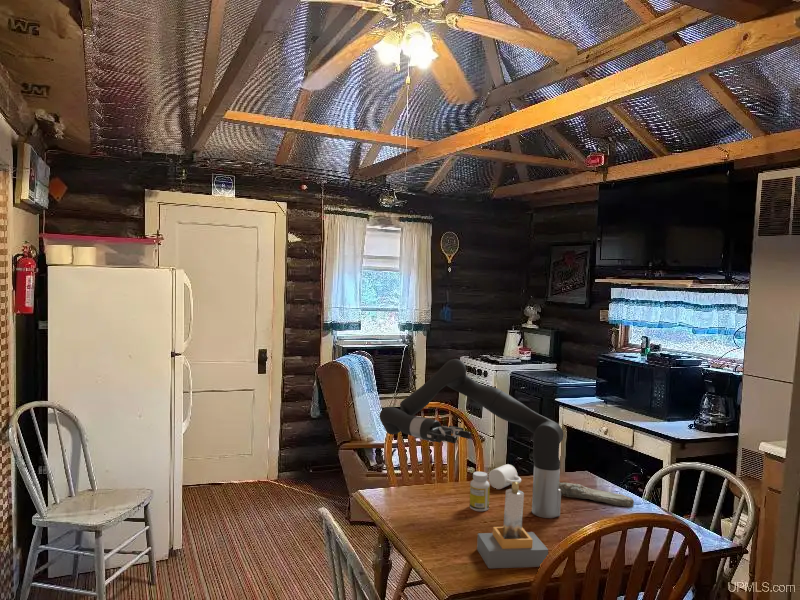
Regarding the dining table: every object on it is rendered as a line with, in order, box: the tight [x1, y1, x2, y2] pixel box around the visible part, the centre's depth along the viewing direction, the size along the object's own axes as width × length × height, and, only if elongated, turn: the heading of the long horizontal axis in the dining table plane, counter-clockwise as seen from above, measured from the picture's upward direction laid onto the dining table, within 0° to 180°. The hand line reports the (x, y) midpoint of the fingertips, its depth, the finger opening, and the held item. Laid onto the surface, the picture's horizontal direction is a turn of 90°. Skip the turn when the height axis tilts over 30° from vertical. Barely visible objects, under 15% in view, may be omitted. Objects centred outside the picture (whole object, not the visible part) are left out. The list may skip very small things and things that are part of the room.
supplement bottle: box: [469, 471, 491, 512], centre depth 210 cm, size 7×7×13 cm
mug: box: [487, 463, 522, 490], centre depth 234 cm, size 12×10×8 cm
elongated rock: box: [559, 481, 635, 507], centre depth 227 cm, size 35×5×10 cm
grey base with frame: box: [476, 526, 549, 569], centre depth 173 cm, size 18×14×8 cm
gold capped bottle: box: [502, 481, 525, 539], centre depth 172 cm, size 5×5×18 cm
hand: (463, 437), depth 193 cm, fingers open, 8 cm apart
